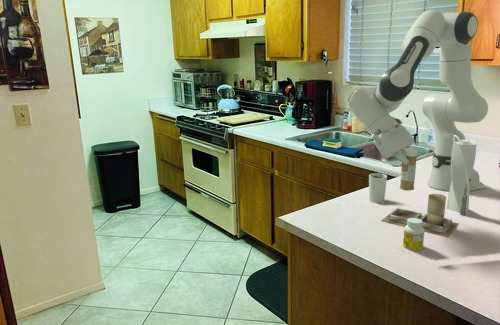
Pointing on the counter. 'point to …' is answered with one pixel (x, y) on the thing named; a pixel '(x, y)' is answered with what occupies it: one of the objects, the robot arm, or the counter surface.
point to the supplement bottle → (413, 235)
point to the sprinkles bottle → (408, 170)
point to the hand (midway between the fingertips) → (411, 161)
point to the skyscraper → (461, 174)
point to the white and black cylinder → (377, 187)
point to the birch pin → (436, 209)
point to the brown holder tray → (402, 215)
